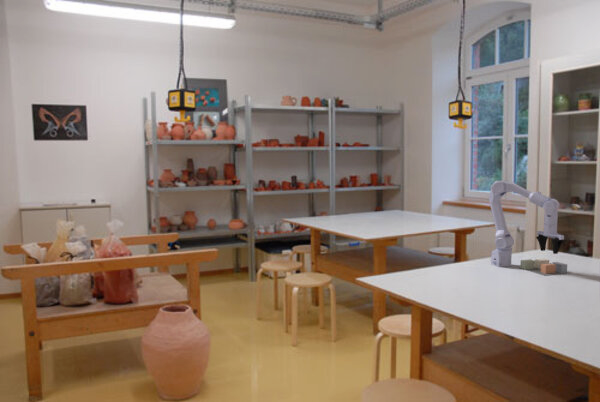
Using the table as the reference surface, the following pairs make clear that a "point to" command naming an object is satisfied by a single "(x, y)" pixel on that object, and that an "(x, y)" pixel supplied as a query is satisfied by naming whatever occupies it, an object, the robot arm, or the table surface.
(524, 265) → the sage brick
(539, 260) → the cream brick
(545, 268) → the terracotta brick
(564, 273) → the mat
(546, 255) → the table surface
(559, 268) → the bluegrey brick
